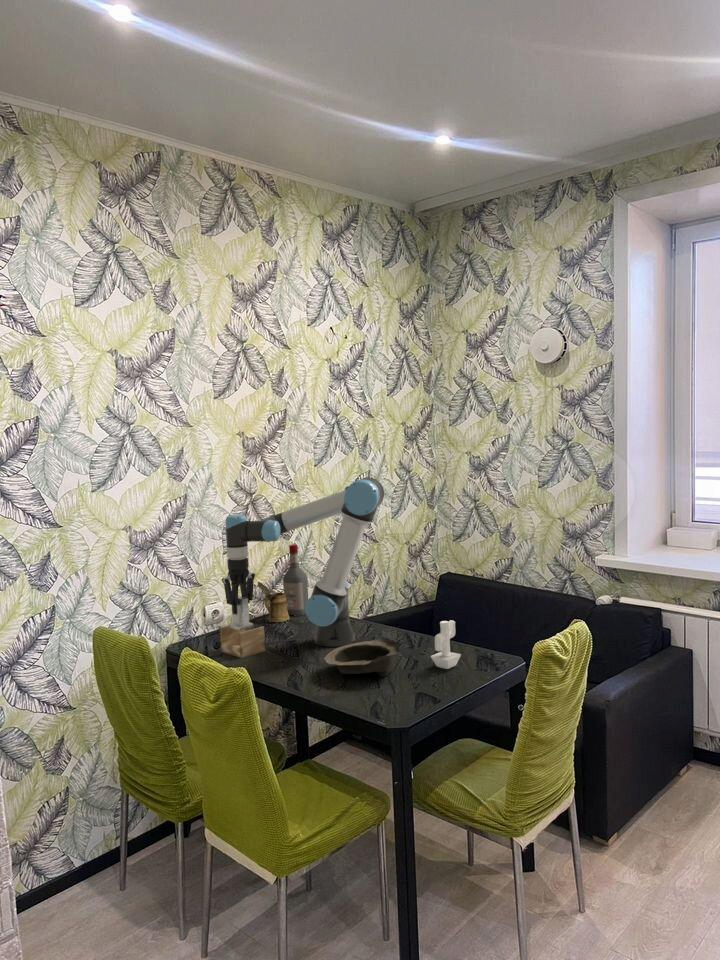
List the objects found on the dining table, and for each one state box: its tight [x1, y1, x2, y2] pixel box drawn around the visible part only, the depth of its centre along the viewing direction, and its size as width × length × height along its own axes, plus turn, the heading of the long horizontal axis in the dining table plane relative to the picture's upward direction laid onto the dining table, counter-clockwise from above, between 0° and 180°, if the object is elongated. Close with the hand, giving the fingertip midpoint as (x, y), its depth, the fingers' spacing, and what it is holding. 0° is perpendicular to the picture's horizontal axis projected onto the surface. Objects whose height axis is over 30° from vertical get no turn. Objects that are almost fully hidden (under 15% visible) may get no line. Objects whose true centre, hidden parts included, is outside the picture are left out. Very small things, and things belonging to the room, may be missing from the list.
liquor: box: [282, 544, 309, 617], centre depth 320 cm, size 9×9×30 cm
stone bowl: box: [323, 637, 401, 678], centre depth 241 cm, size 25×25×9 cm
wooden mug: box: [257, 581, 291, 624], centre depth 309 cm, size 9×14×18 cm, turn 128°
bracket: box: [228, 595, 254, 630], centre depth 269 cm, size 7×6×11 cm
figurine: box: [430, 619, 462, 670], centre depth 242 cm, size 7×9×15 cm
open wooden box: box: [219, 624, 266, 659], centre depth 269 cm, size 13×11×9 cm
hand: (240, 621), depth 269 cm, fingers closed on bracket, 2 cm apart
